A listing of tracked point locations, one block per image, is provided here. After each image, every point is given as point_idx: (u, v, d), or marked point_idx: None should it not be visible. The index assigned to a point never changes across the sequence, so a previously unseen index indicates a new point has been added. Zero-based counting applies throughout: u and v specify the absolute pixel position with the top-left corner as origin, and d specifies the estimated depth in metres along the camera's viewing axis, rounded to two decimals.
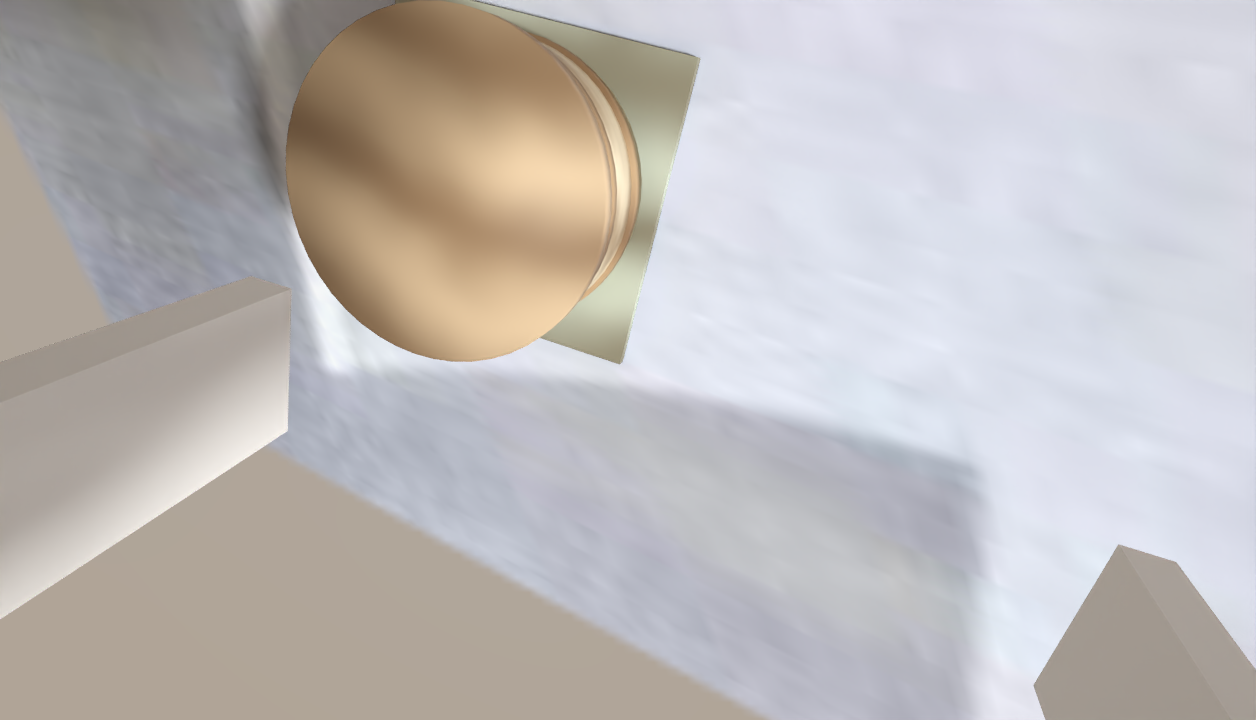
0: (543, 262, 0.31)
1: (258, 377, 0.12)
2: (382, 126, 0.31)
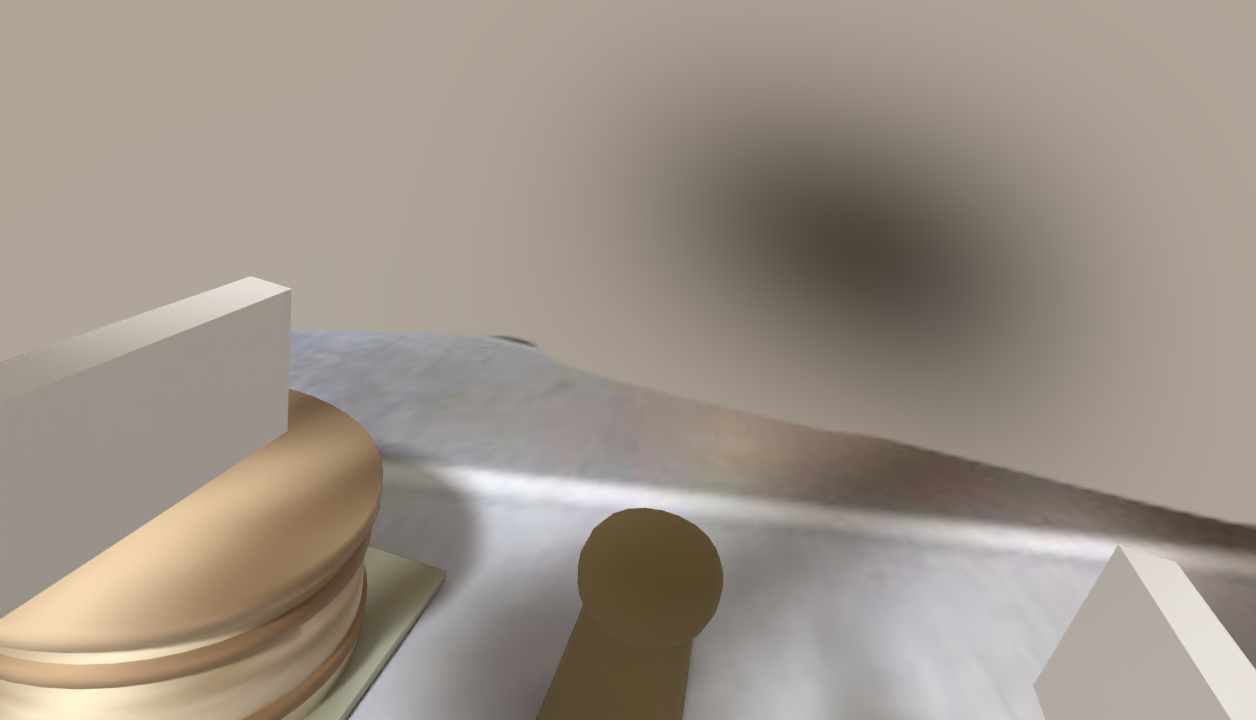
0: None
1: (258, 377, 0.12)
2: (272, 451, 0.29)
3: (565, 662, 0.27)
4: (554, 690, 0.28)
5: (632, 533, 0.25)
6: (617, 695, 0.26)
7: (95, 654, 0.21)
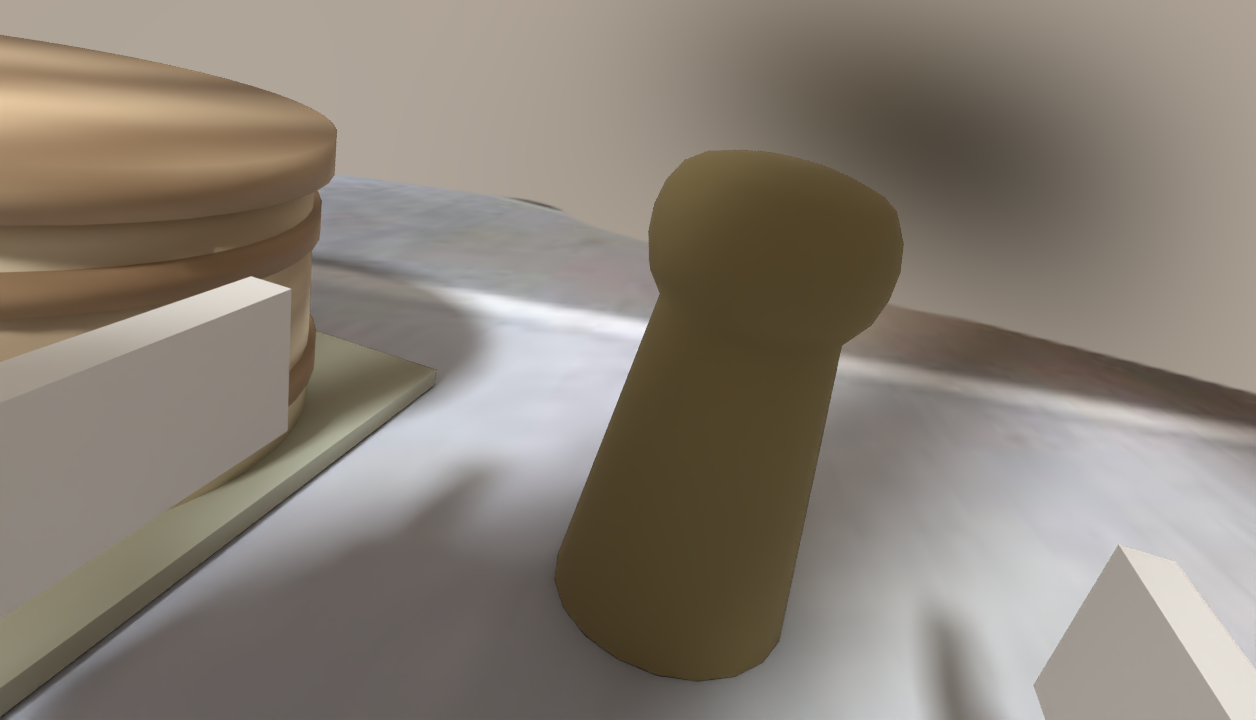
0: None
1: (258, 377, 0.12)
2: (165, 97, 0.19)
3: (619, 411, 0.16)
4: (599, 465, 0.17)
5: (748, 153, 0.14)
6: (714, 441, 0.15)
7: None
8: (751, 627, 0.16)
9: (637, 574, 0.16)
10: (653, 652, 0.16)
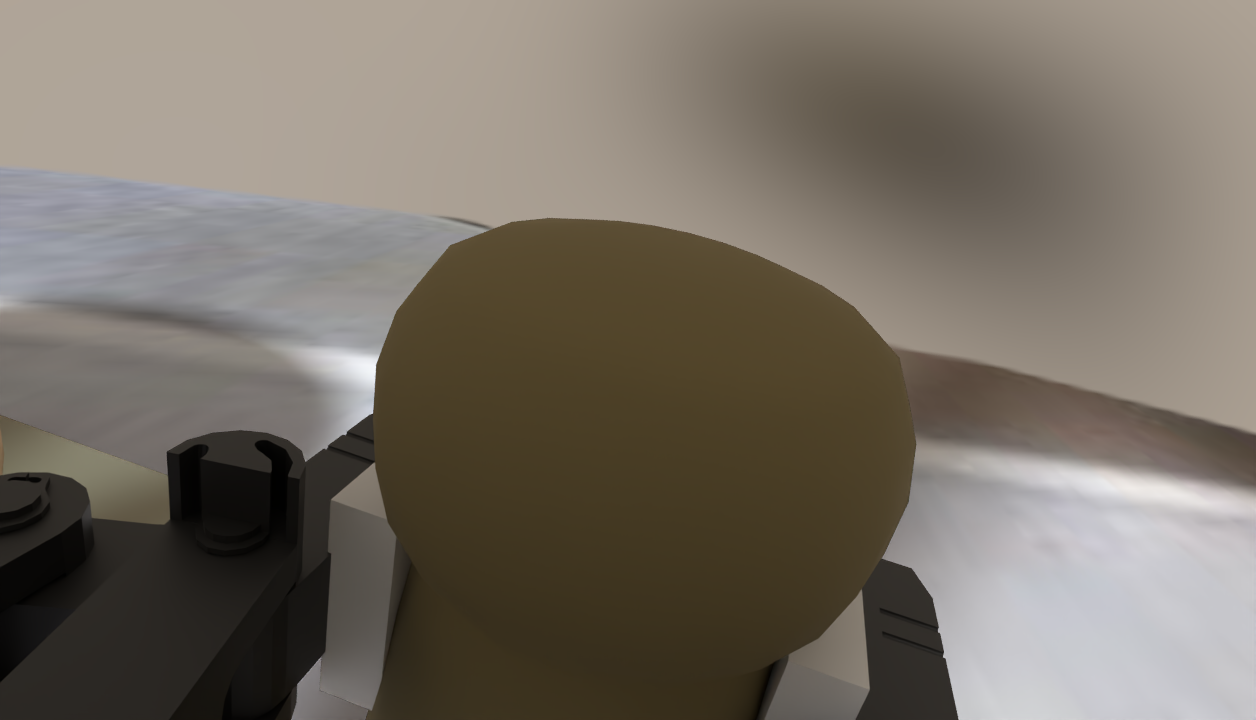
0: None
1: None
2: None
3: (367, 714, 0.09)
4: None
5: (576, 237, 0.07)
6: None
7: None
8: None
9: None
10: None
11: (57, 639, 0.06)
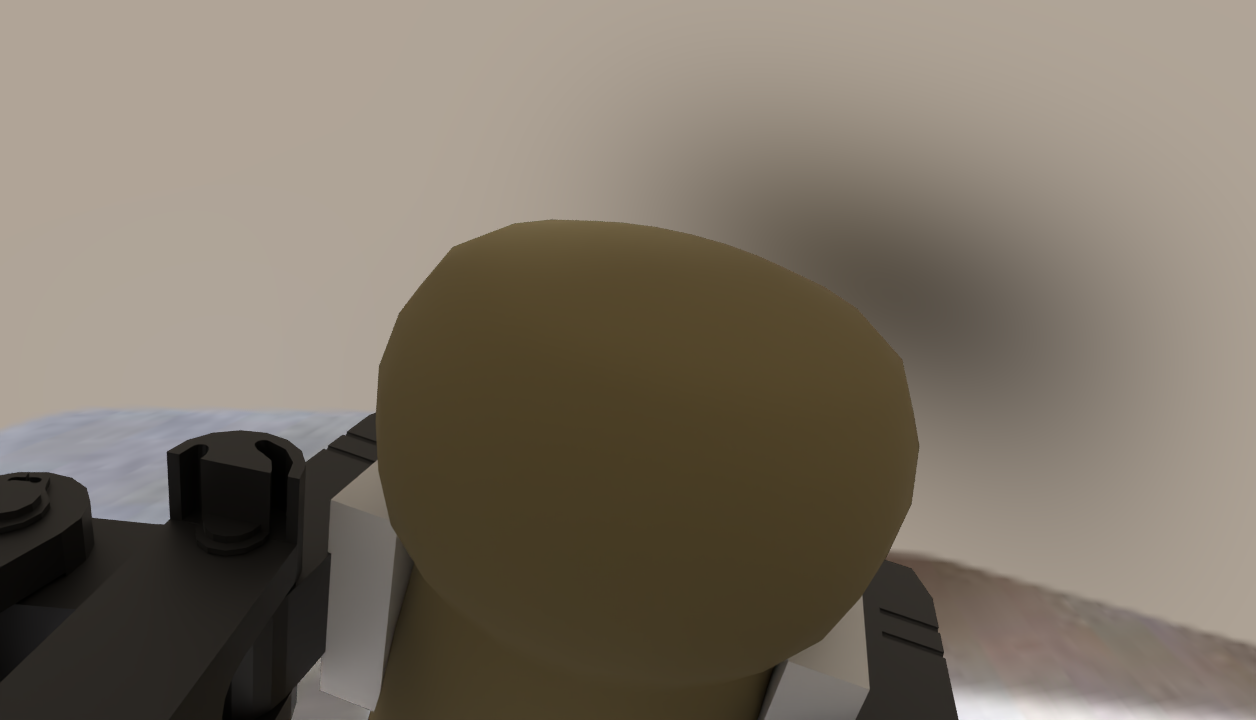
0: None
1: None
2: None
3: (370, 715, 0.09)
4: None
5: (579, 238, 0.07)
6: None
7: None
8: None
9: None
10: None
11: (57, 639, 0.06)
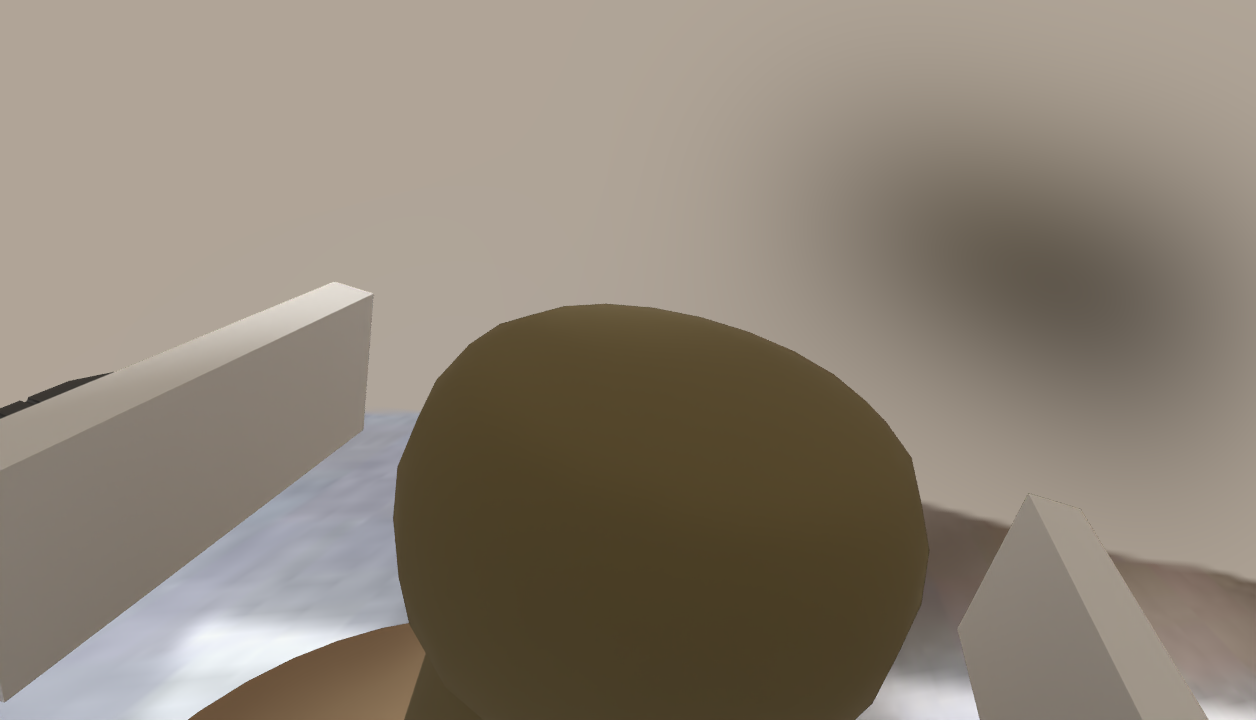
0: None
1: (343, 378, 0.12)
2: None
3: None
4: None
5: (595, 342, 0.07)
6: None
7: None
8: None
9: None
10: None
11: None
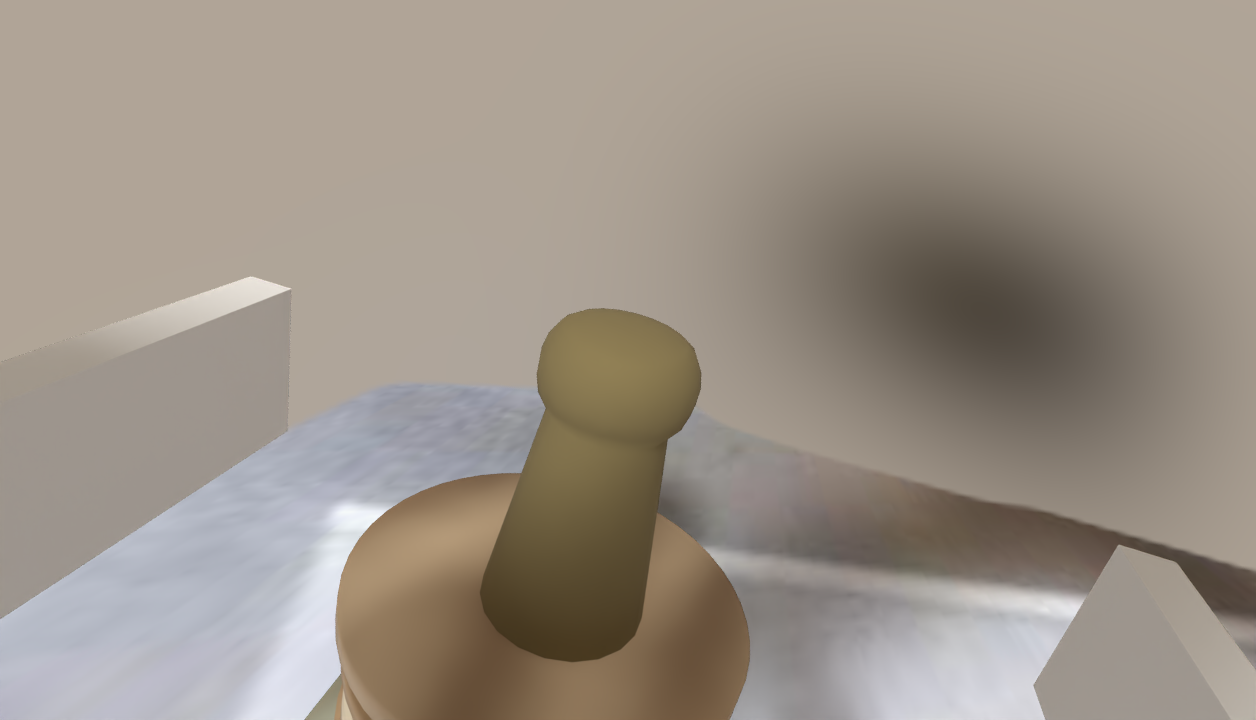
0: (454, 681, 0.22)
1: (258, 377, 0.12)
2: None
3: (521, 480, 0.24)
4: (508, 515, 0.25)
5: (600, 320, 0.22)
6: (577, 505, 0.22)
7: None
8: (609, 626, 0.24)
9: (530, 590, 0.24)
10: (541, 643, 0.24)
11: None
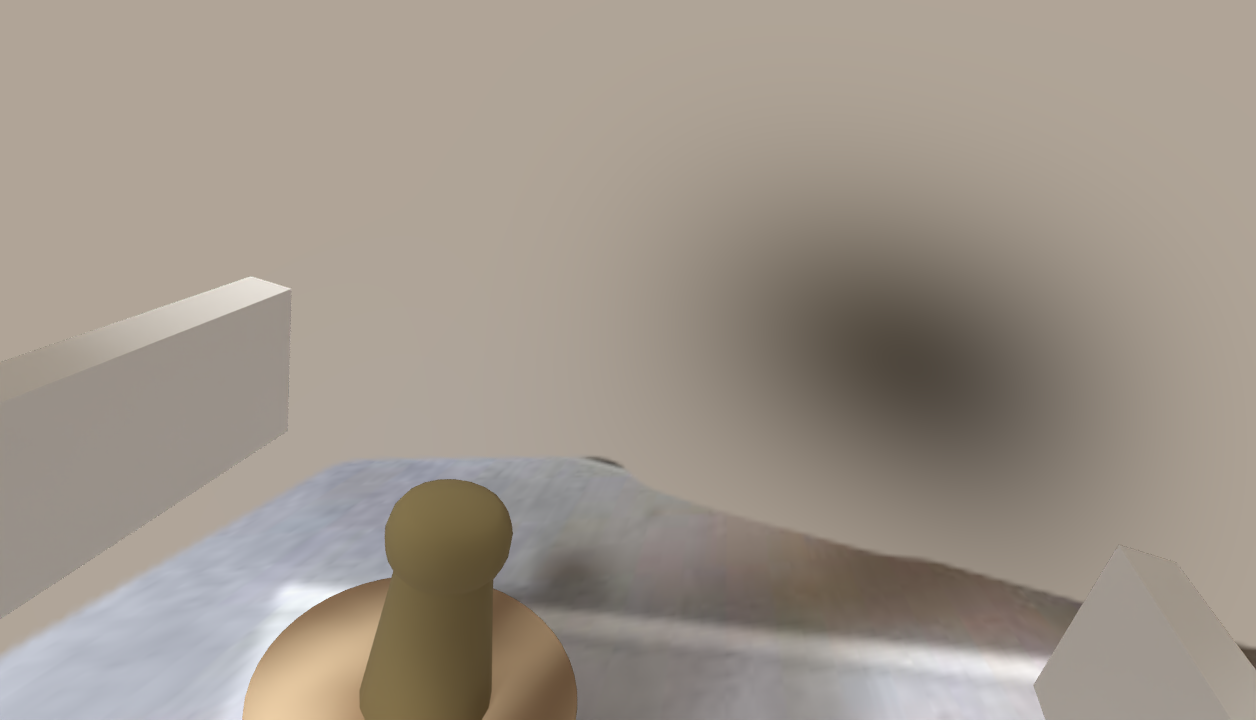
0: None
1: (258, 377, 0.12)
2: None
3: (382, 610, 0.32)
4: (375, 635, 0.32)
5: (430, 498, 0.30)
6: (415, 636, 0.30)
7: None
8: None
9: (386, 696, 0.31)
10: None
11: None
